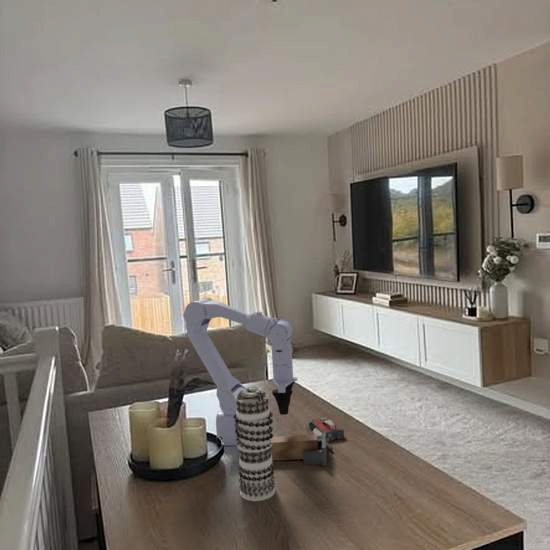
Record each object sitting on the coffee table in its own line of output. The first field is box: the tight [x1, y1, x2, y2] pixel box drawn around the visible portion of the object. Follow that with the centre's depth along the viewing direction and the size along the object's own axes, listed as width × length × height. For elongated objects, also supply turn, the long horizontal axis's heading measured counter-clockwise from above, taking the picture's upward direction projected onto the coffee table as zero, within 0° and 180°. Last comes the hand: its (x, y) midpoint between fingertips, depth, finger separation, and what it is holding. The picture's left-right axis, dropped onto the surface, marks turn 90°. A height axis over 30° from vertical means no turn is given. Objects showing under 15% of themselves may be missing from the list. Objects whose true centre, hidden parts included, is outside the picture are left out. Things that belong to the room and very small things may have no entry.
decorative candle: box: [233, 386, 276, 502], centre depth 122 cm, size 9×9×25 cm
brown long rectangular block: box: [271, 433, 319, 462], centre depth 140 cm, size 16×4×5 cm, turn 85°
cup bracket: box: [302, 432, 327, 467], centre depth 139 cm, size 6×10×5 cm, turn 175°
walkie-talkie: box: [308, 416, 345, 451], centre depth 152 cm, size 9×4×20 cm
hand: (285, 409), depth 148 cm, fingers open, 7 cm apart
